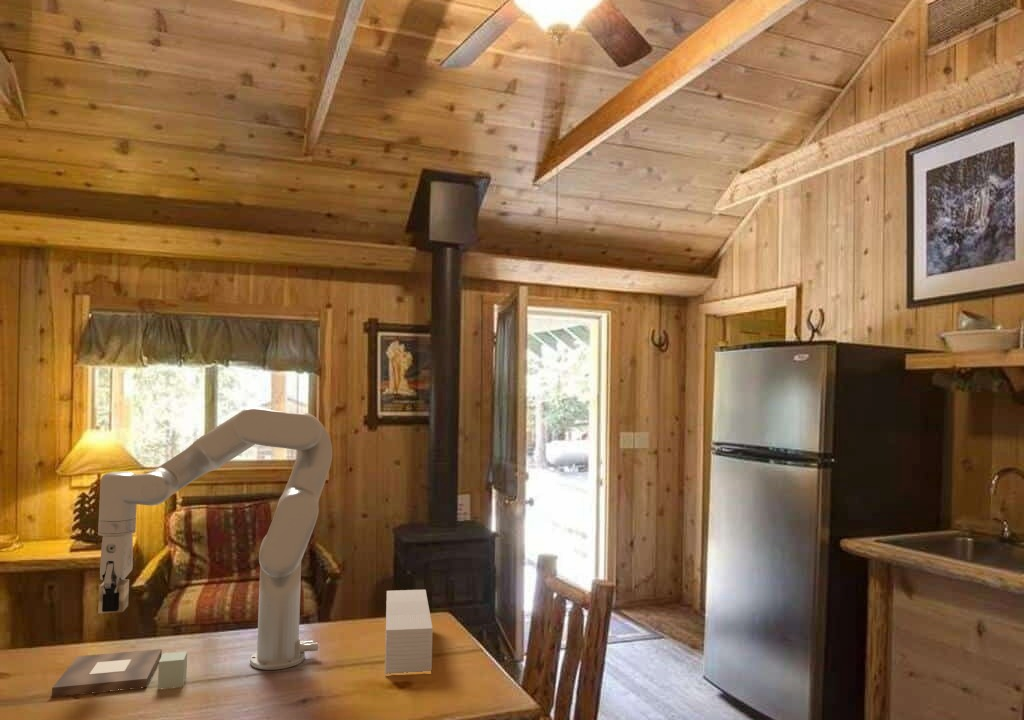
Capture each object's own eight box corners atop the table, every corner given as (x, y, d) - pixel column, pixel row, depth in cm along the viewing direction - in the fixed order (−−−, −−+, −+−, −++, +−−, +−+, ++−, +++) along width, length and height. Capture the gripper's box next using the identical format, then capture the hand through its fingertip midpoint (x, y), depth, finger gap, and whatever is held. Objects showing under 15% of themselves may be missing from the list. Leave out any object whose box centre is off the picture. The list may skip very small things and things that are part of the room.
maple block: (128, 605, 162) (129, 579, 163) (123, 611, 158) (124, 585, 158) (103, 606, 161) (105, 580, 161) (97, 613, 156) (99, 586, 156)
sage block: (186, 678, 158) (187, 651, 159) (182, 687, 153) (183, 659, 154) (161, 680, 157) (162, 653, 157) (157, 689, 152) (158, 661, 152)
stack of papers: (431, 675, 163) (432, 628, 163) (385, 677, 161) (386, 630, 161) (424, 628, 194) (425, 589, 195) (385, 630, 192) (386, 590, 193)
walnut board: (161, 657, 170) (161, 648, 170) (146, 687, 153) (146, 678, 153) (76, 664, 165) (77, 655, 165) (51, 697, 147) (52, 687, 147)
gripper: (126, 533, 153) (123, 617, 152) (143, 519, 169) (139, 595, 169) (88, 534, 151) (84, 620, 150) (108, 520, 167) (104, 597, 166)
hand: (113, 606), depth 159 cm, fingers closed on maple block, 4 cm apart
